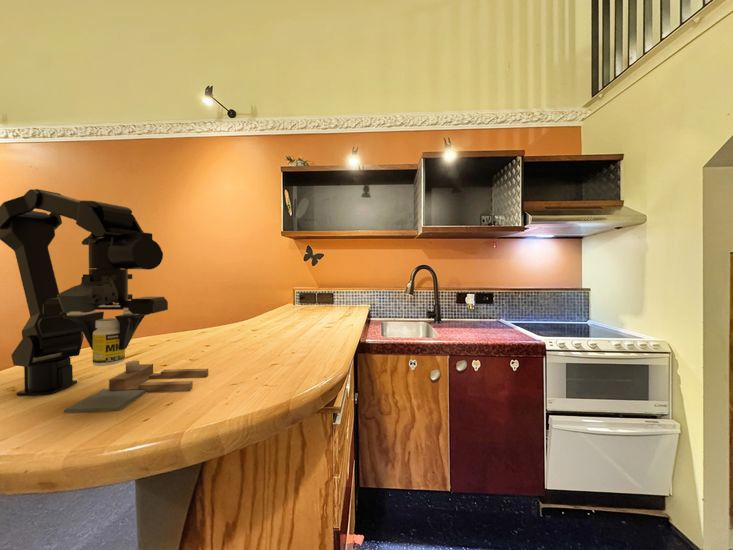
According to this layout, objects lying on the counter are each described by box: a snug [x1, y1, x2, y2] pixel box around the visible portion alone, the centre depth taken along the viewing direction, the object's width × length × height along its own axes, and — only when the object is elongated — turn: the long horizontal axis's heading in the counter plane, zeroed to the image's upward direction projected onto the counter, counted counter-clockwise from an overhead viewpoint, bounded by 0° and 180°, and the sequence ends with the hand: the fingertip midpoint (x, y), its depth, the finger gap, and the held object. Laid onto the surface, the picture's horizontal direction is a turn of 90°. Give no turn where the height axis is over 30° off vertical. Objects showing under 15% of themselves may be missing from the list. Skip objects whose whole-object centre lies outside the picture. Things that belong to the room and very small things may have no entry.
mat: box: [63, 388, 146, 414], centre depth 58 cm, size 9×9×1 cm
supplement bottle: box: [92, 317, 126, 367], centre depth 57 cm, size 5×5×8 cm
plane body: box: [108, 360, 209, 394], centre depth 66 cm, size 16×10×5 cm, turn 96°
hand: (109, 349), depth 58 cm, fingers closed on supplement bottle, 5 cm apart
